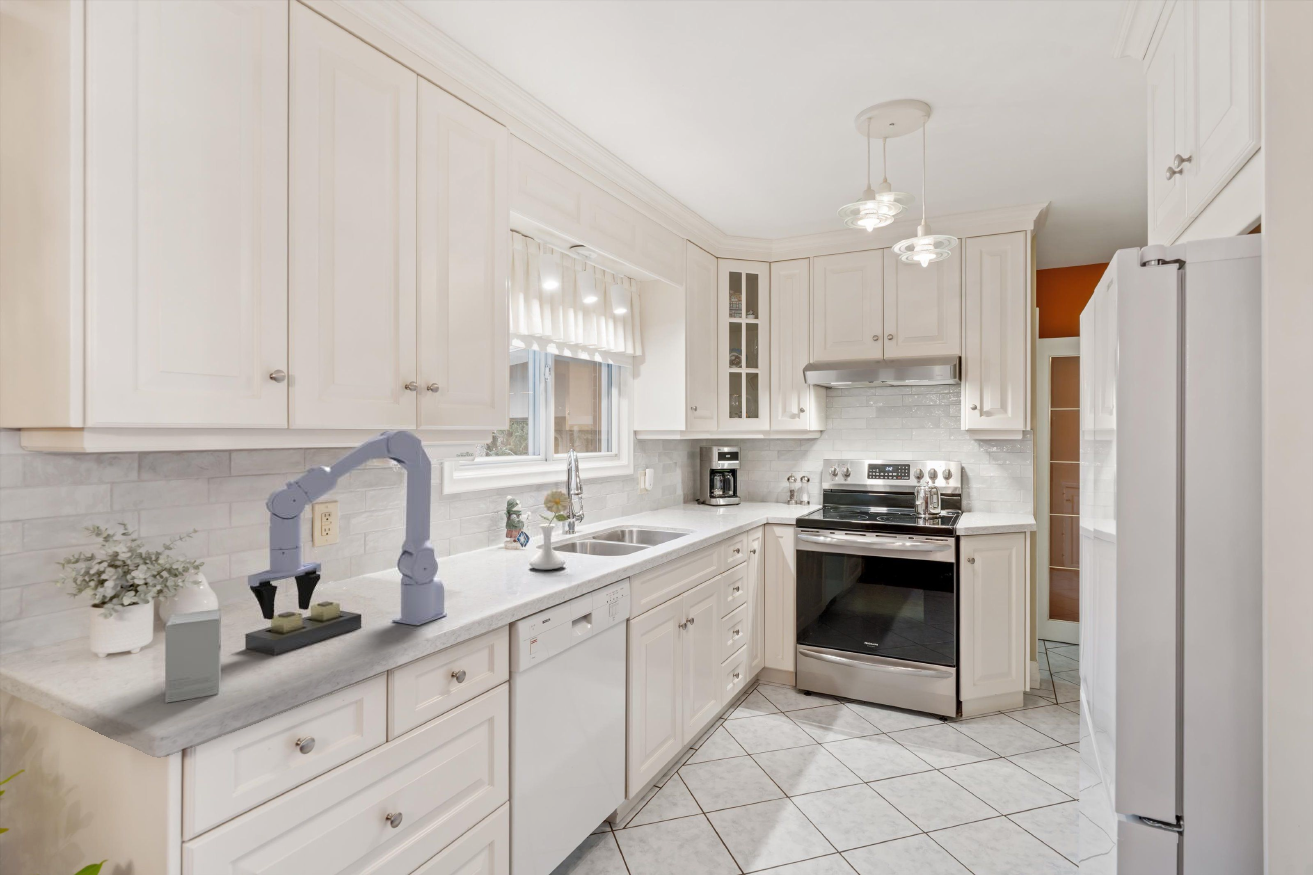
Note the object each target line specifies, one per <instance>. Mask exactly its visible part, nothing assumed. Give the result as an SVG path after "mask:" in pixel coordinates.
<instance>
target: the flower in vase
mask: <svg viewBox="0 0 1313 875" xmlns="http://www.w3.org/2000/svg"><path fill="white" fill-rule="evenodd" d="M570 501H571V499H569V496H568V494H567V493H566V492H565V491H564V492H563V491H562V490H556V489H555V490H554V491H551V492H549V493H546V496H545V498H544V501H543V505H544V507H545V509H546V511H548V512H550V513H554V515H553V517H552V518H551V520H550V519H549V518H548V517H545V516H542V514H539V516H540V518H542V519H544V520H547V521H549V523H547V524H546V523H544V524H539V528H540V529H541V531H542V534H543V536H542V537H543V547H542V549H541V550H540V551H539V552H538V553H536V554H535V555H534V556H533V557H532V558H531V560H529V563H528V565H529V566H530V568H534V569H536V570H545V571H546V570H555V569H556V570H557V569H559V568H562V567H564V566H565V564H566V560H565V559H564V558H563V557H562V556H561V555H560V554H559V553H557V552H556V551H555V550H554V549H553V547H552V533H553V530H554V529H555V527H556V524H554V523H553V524H552V522H553V520H554V519H555V520H557V522H564V521H567V520H569V518H568V516H566V515H565V514H564V513H562V512H565V511H567V510H568V509H569V508H568V507H569V506H570V503H571V502H570Z"/></svg>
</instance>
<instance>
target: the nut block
mask: <svg viewBox="0 0 1313 875" xmlns="http://www.w3.org/2000/svg"><path fill="white" fill-rule="evenodd" d="M302 618H303V613H299V612H296V611H295V612H294V611H285V612H282V613H279V614H274V618H273V619H271V620H270V627H271V633H275V634H279V635H284V634H287V633H291V632H294V631H298V630H301V629H302Z"/></svg>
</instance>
